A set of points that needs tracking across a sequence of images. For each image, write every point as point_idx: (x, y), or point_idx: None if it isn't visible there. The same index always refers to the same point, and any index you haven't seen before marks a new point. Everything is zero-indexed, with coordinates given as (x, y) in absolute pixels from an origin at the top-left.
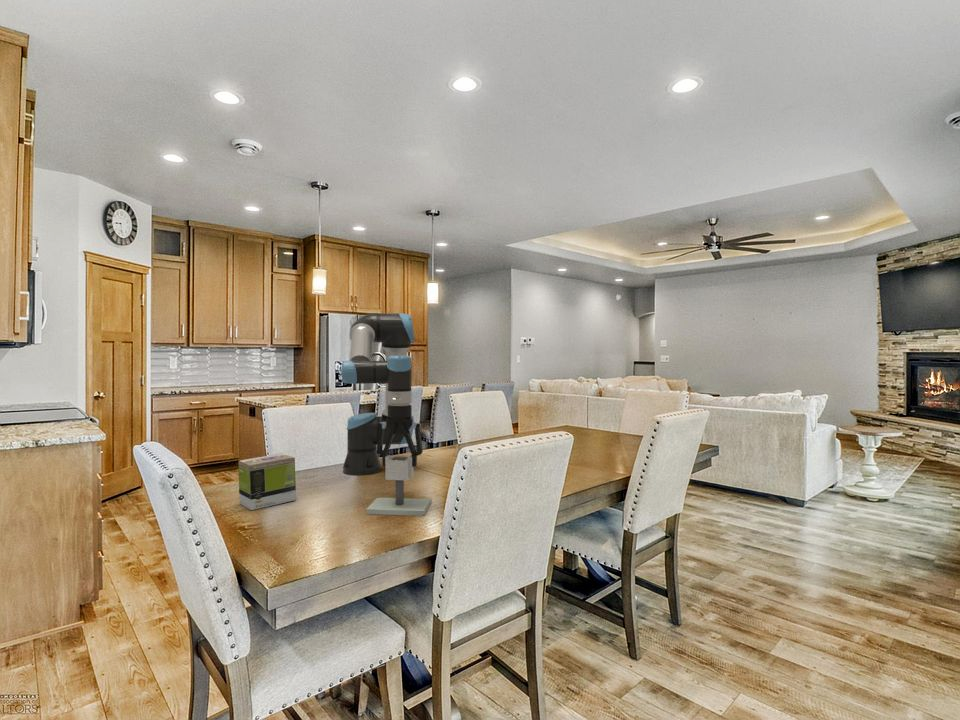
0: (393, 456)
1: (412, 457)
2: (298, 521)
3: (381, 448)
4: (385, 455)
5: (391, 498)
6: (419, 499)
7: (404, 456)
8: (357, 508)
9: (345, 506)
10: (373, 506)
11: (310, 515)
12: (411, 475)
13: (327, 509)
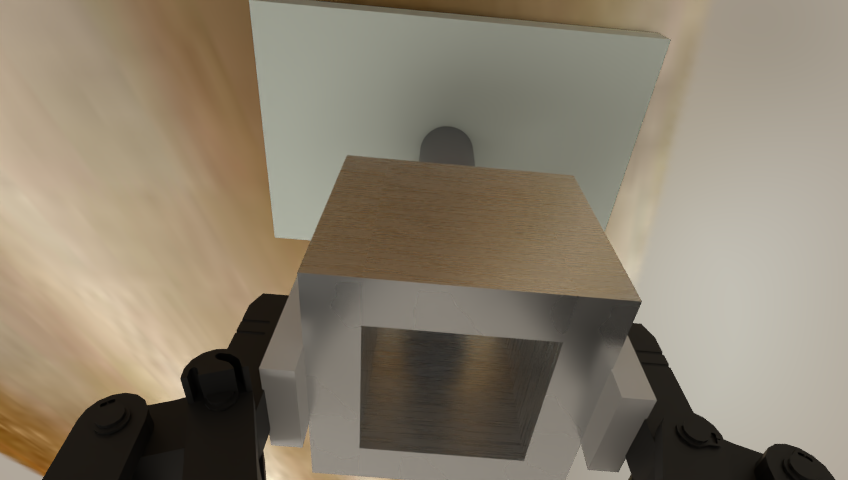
0: (338, 301)
1: (627, 448)
2: (29, 306)
3: (122, 477)
4: (259, 438)
5: (366, 25)
6: (581, 47)
7: (509, 299)
8: (191, 135)
9: (96, 98)
10: (297, 195)
11: (17, 241)
12: None
13: (30, 154)
